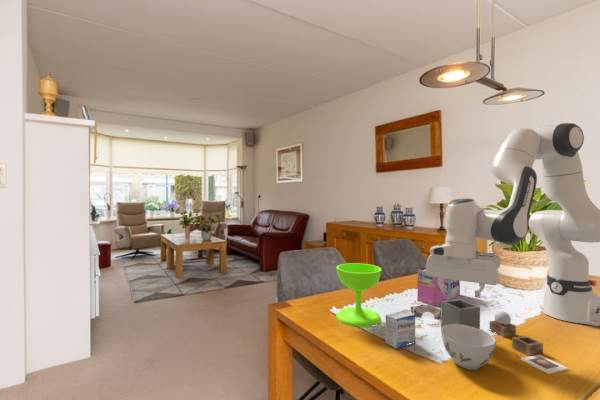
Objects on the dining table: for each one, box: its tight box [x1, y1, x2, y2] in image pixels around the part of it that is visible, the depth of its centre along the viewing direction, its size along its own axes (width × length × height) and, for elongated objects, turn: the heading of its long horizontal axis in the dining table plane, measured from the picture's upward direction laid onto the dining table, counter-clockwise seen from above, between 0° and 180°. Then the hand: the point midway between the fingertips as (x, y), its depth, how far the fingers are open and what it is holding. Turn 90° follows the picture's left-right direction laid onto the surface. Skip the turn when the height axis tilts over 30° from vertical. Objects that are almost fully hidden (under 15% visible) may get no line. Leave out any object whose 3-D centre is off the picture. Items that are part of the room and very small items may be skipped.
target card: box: [520, 354, 569, 375], centre depth 80 cm, size 7×7×1 cm
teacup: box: [440, 324, 497, 371], centre depth 80 cm, size 15×12×8 cm
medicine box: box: [385, 310, 416, 350], centre depth 91 cm, size 8×4×9 cm, turn 117°
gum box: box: [416, 266, 461, 306], centre depth 133 cm, size 24×8×14 cm, turn 128°
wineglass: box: [335, 262, 382, 328], centre depth 110 cm, size 16×16×18 cm
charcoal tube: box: [440, 298, 481, 331], centre depth 96 cm, size 8×8×10 cm
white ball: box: [494, 310, 512, 326], centre depth 98 cm, size 4×4×4 cm
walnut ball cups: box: [489, 320, 544, 357], centre depth 92 cm, size 9×16×3 cm, turn 17°
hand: (460, 294), depth 96 cm, fingers open, 8 cm apart
